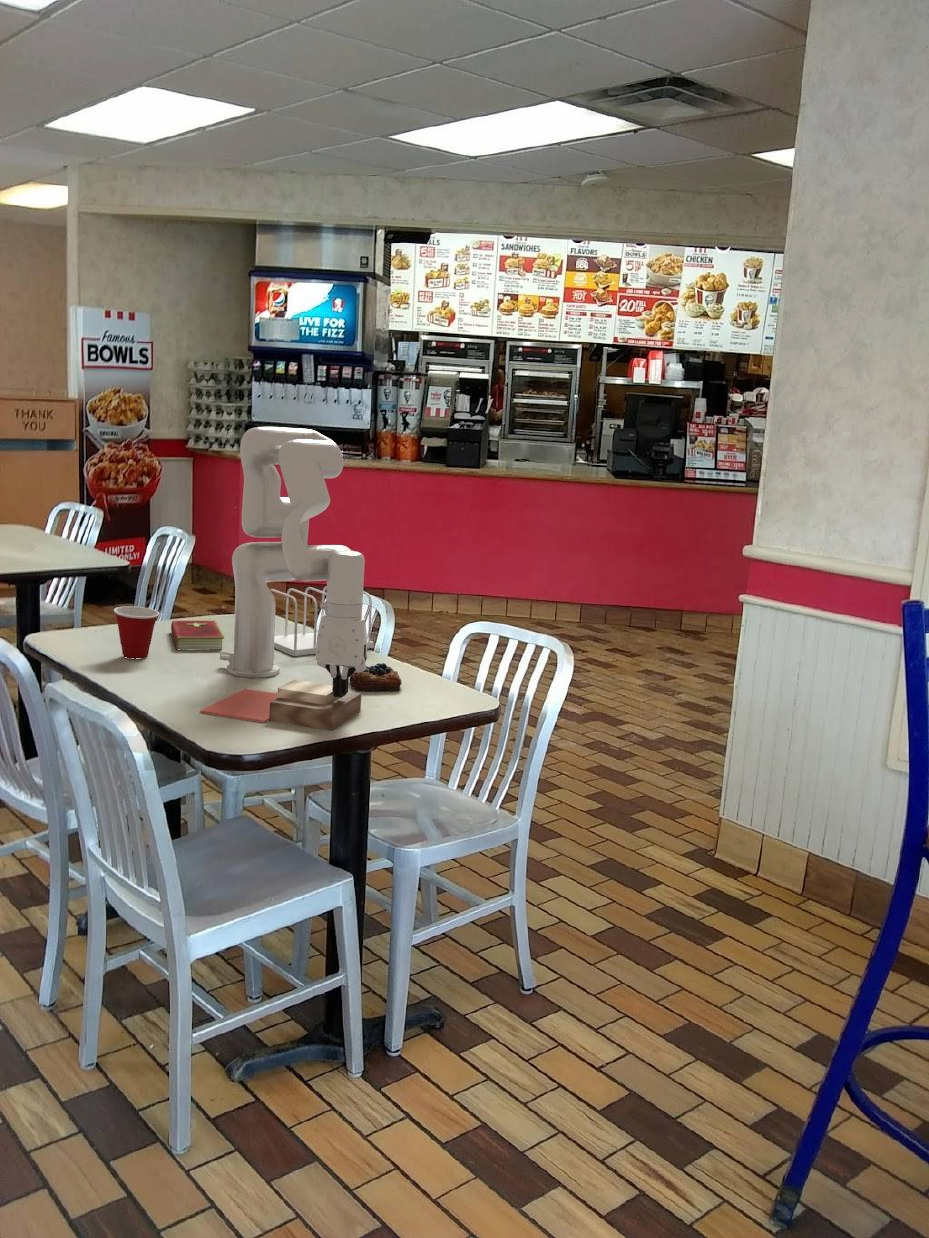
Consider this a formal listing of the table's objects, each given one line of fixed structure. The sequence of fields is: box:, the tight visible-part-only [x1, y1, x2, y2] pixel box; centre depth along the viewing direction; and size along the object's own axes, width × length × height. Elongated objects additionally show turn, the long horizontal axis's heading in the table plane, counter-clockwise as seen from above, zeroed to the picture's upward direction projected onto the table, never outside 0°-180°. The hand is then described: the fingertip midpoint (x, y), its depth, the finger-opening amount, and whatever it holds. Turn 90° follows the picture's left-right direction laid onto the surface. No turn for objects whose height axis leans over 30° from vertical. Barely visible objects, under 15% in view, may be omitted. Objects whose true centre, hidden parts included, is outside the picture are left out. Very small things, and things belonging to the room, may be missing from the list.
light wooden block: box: [277, 679, 338, 705], centre depth 227 cm, size 11×8×2 cm
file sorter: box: [269, 585, 375, 657], centre depth 290 cm, size 25×17×16 cm
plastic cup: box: [113, 605, 160, 659], centre depth 264 cm, size 11×11×12 cm
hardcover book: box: [170, 619, 225, 651], centre depth 286 cm, size 12×21×4 cm, turn 19°
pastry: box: [349, 662, 403, 693], centre depth 254 cm, size 11×12×6 cm
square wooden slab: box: [268, 690, 362, 731], centre depth 227 cm, size 14×16×4 cm
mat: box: [199, 688, 278, 723], centre depth 231 cm, size 15×20×1 cm
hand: (340, 695), depth 225 cm, fingers closed
